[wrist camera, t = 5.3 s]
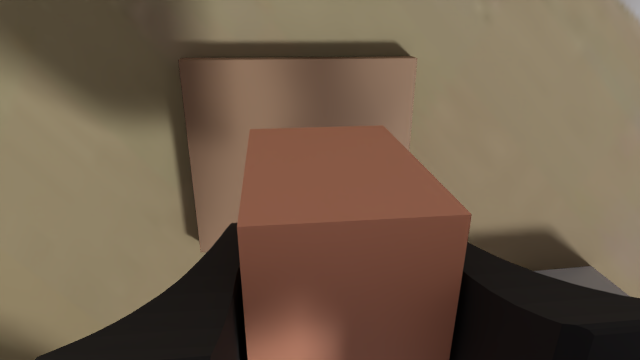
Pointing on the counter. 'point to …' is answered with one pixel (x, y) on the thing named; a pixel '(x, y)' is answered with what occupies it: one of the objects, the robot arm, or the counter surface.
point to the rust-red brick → (346, 248)
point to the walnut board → (279, 114)
